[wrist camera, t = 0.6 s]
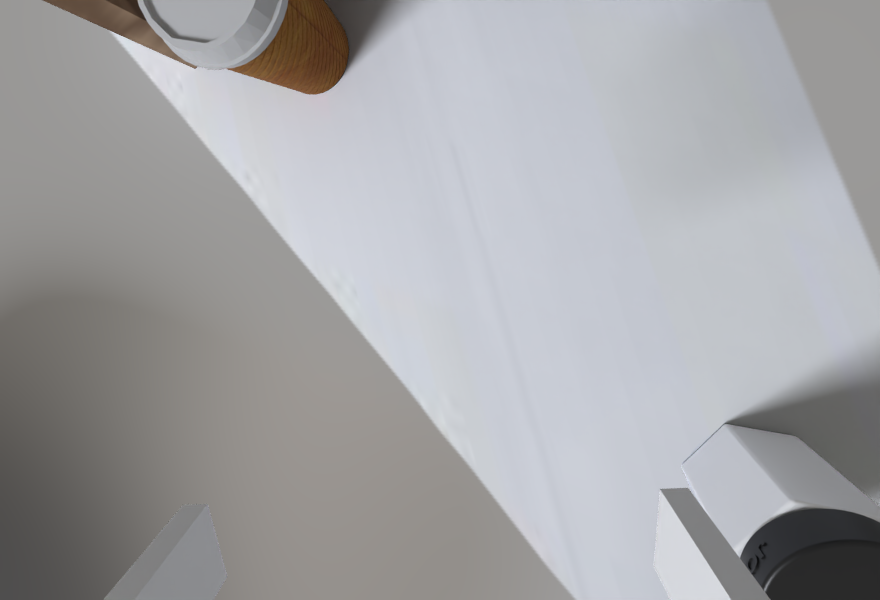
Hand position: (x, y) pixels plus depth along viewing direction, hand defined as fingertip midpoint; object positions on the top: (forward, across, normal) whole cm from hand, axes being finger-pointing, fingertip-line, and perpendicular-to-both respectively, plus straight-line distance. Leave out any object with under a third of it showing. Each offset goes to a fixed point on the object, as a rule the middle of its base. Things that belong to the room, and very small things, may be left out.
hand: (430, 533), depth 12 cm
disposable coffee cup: (+28, -10, +20) cm, 36 cm away
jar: (+17, +21, -13) cm, 30 cm away
